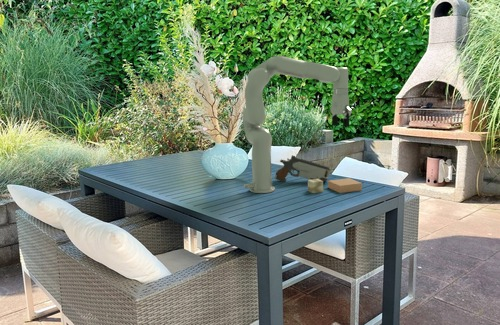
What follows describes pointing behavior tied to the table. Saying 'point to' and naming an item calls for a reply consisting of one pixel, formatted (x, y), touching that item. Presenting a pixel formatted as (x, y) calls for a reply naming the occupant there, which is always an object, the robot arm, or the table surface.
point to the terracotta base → (344, 185)
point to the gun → (302, 170)
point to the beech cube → (315, 186)
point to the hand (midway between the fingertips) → (340, 125)
